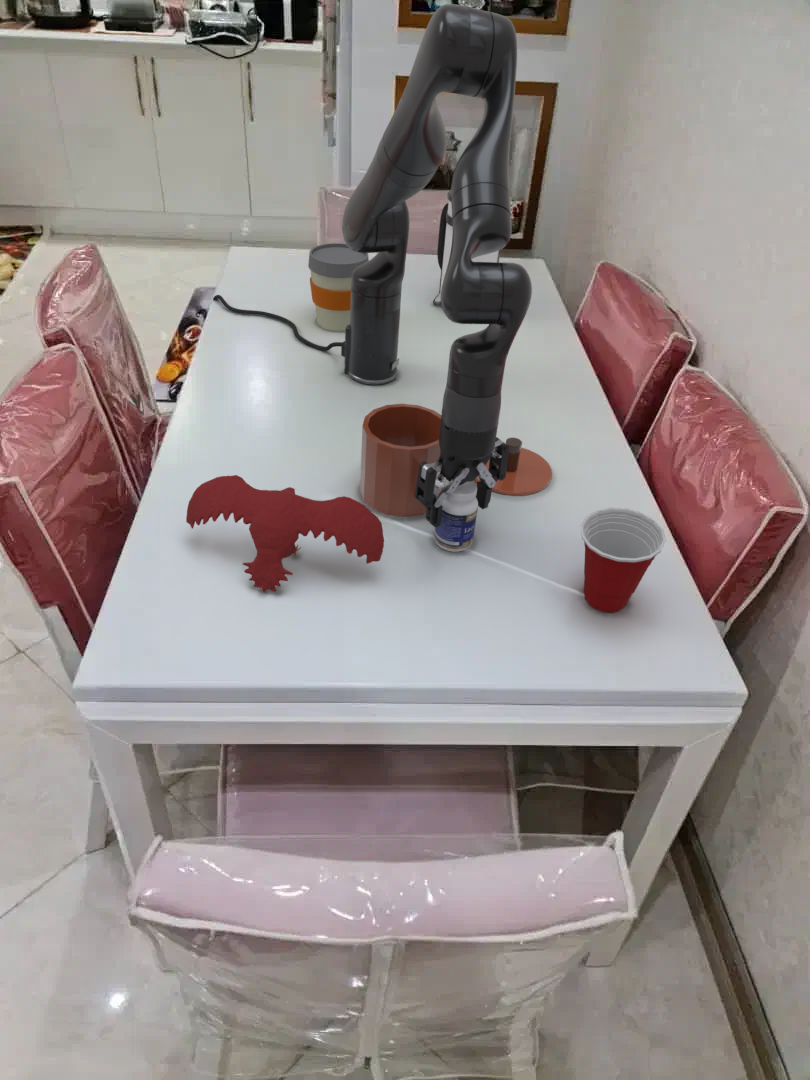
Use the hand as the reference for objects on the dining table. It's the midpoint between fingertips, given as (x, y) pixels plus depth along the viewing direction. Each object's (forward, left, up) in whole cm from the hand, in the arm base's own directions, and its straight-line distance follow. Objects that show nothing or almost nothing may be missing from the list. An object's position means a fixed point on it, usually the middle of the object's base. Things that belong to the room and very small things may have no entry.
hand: (457, 514), depth 116 cm
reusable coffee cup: (-54, +54, -5) cm, 77 cm away
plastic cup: (+23, 0, -5) cm, 23 cm away
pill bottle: (0, 0, -5) cm, 5 cm away
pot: (-12, +6, -5) cm, 14 cm away
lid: (0, +21, -4) cm, 21 cm away
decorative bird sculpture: (-18, -18, -5) cm, 26 cm away
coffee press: (-36, +78, -5) cm, 86 cm away
